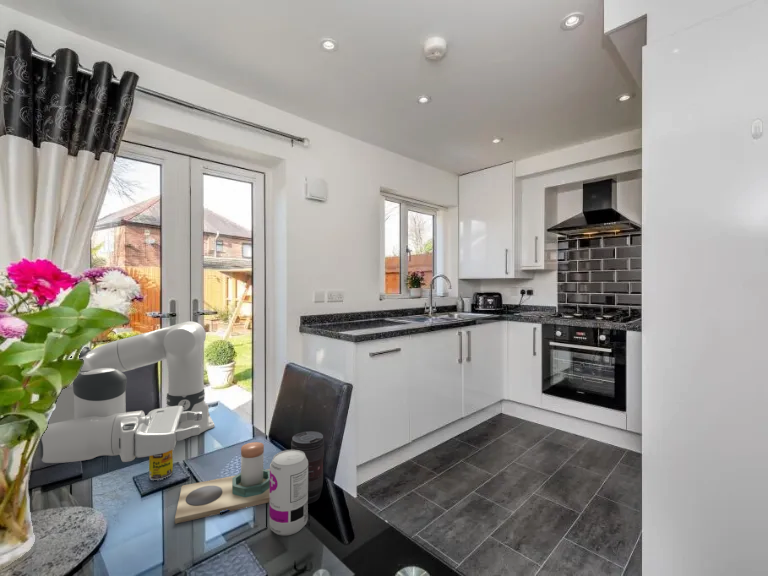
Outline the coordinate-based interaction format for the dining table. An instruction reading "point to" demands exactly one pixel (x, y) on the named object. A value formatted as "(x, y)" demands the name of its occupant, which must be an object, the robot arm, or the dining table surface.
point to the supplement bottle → (161, 465)
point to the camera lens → (311, 460)
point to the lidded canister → (252, 464)
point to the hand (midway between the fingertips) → (201, 422)
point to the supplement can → (288, 492)
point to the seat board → (220, 497)
